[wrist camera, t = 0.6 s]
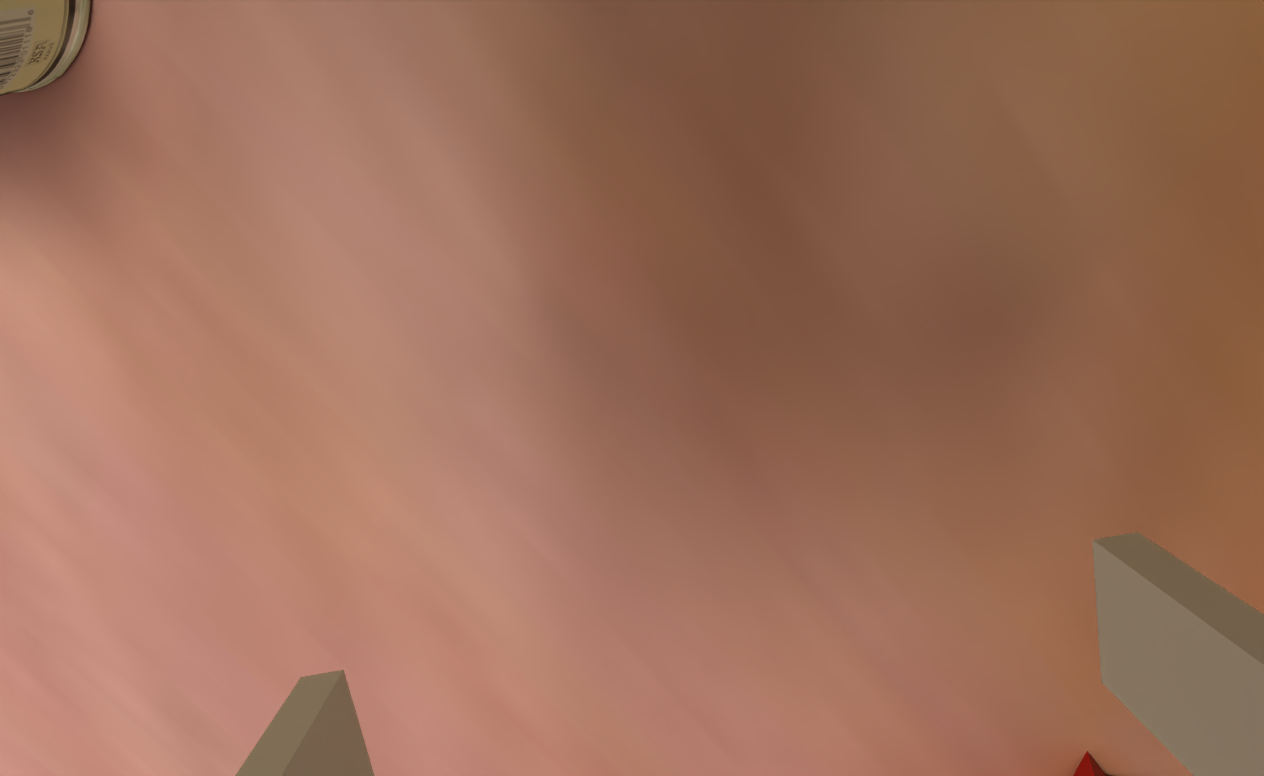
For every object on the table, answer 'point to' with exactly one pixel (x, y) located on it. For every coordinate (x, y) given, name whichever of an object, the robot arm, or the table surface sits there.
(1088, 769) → the book
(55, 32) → the coffee can
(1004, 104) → the table surface
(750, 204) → the table surface
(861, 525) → the table surface
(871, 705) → the table surface
